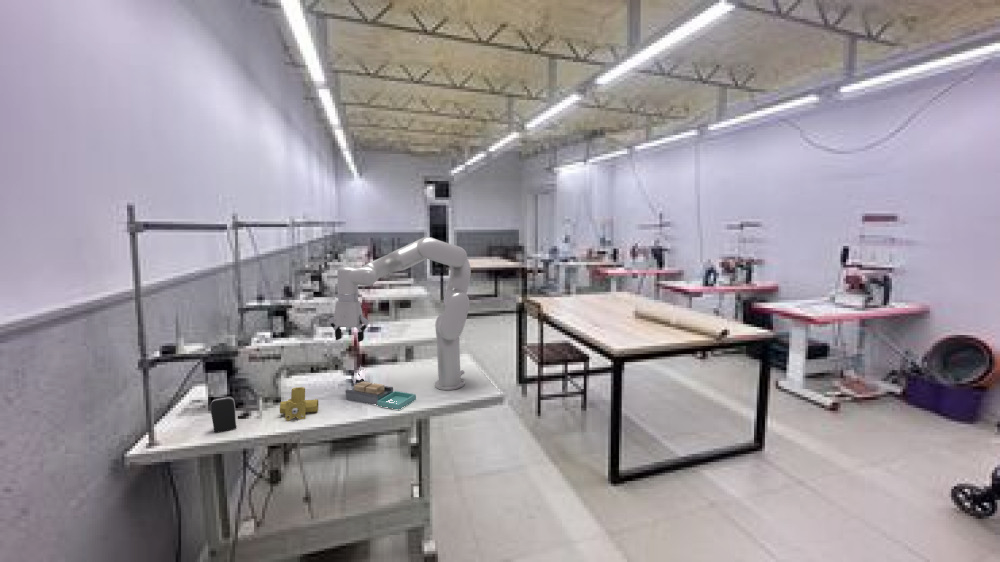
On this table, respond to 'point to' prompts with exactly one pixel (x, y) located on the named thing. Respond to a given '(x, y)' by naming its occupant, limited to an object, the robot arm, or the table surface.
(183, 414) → the table surface
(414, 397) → the tray
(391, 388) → the rail plate
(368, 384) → the chip
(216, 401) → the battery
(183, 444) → the table surface
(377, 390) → the chip
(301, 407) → the ball valve
